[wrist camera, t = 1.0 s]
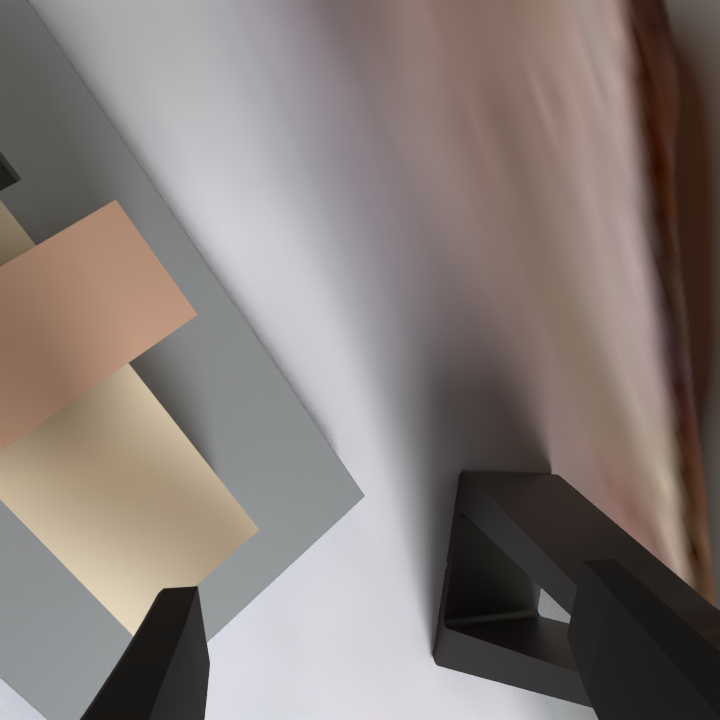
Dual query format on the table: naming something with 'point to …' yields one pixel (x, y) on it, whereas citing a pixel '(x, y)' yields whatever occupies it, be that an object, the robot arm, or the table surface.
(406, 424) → the table surface
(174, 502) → the block
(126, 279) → the tunnel
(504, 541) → the phone stand
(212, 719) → the table surface
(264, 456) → the deck
